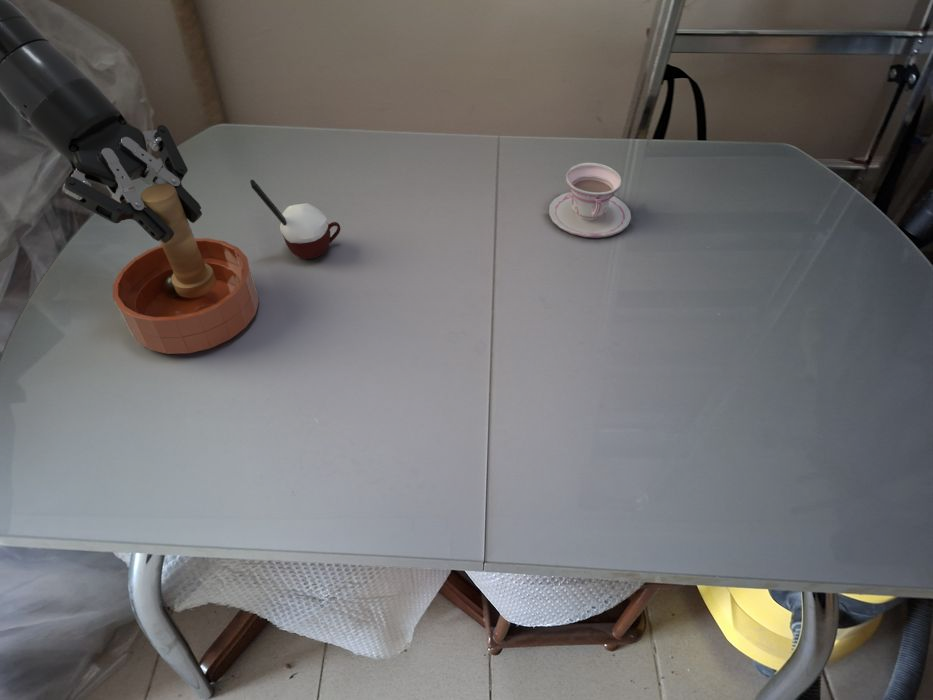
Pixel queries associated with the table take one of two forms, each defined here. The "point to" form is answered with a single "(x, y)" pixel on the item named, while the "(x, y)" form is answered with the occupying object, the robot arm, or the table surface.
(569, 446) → the table surface
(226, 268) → the bowl
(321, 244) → the cocoa
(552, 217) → the teacup
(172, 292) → the bead
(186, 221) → the wooden flanged peg
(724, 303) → the table surface
